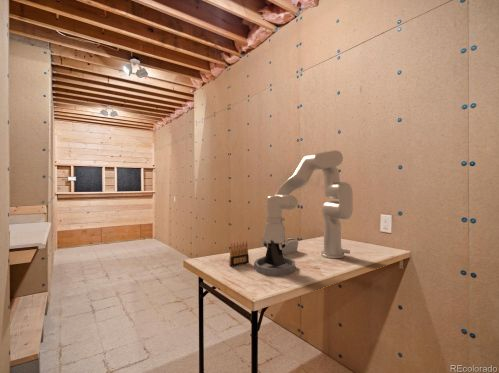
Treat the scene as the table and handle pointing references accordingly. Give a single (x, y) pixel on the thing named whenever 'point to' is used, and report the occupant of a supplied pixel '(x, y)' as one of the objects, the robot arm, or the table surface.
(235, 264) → the ammunition clip
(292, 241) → the white electronic device
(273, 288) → the table surface
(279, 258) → the phone stand
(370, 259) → the table surface
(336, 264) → the table surface
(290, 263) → the round tray
